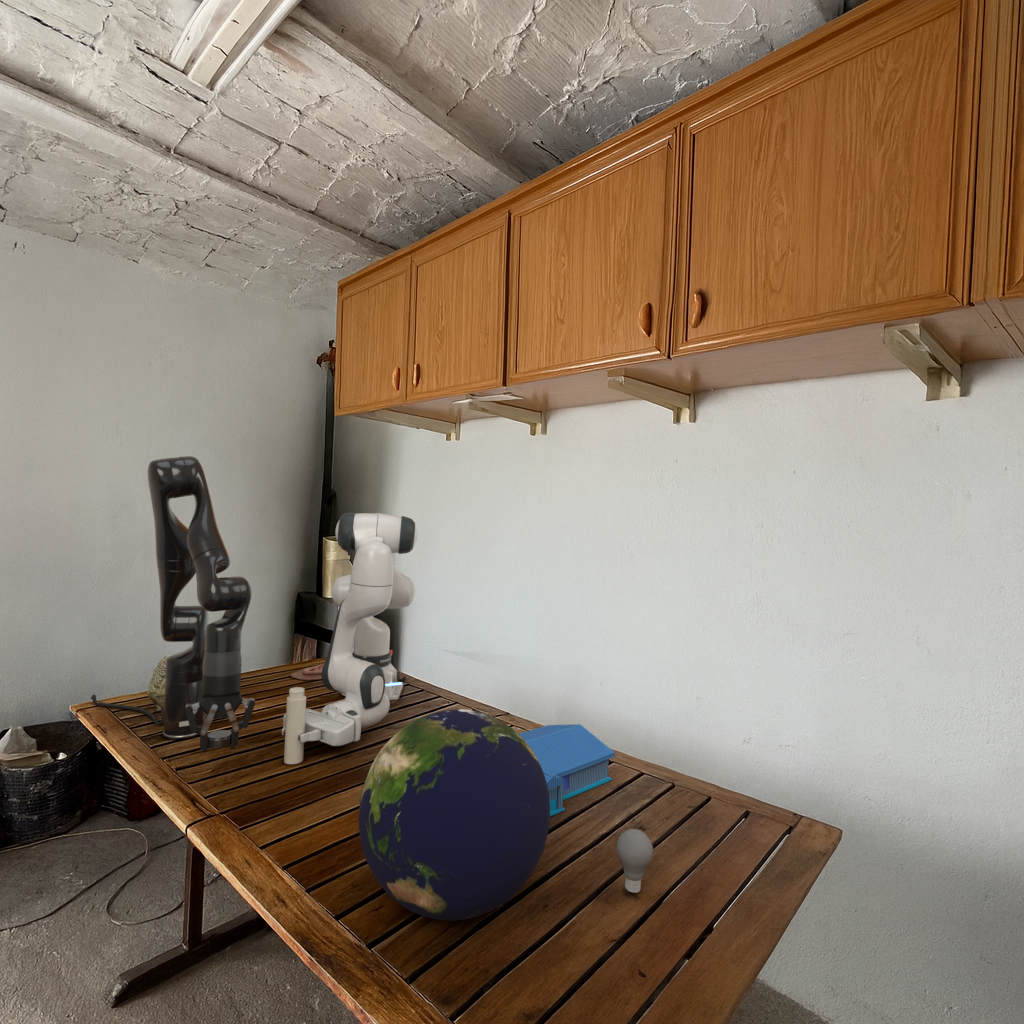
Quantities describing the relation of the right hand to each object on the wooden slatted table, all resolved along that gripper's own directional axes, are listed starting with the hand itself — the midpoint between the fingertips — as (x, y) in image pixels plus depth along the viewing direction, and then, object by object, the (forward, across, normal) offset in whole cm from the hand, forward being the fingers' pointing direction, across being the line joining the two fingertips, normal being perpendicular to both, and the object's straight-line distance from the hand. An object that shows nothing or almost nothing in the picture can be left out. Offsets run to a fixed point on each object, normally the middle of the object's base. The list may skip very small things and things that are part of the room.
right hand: (291, 735), depth 150 cm
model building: (-22, +52, +6) cm, 57 cm away
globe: (+18, +63, +6) cm, 66 cm away
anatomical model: (-50, -53, +6) cm, 73 cm away
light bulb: (-2, +85, +6) cm, 86 cm away
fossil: (-6, -55, +6) cm, 56 cm away
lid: (+18, -1, -5) cm, 19 cm away
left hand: (+18, -1, -2) cm, 18 cm away
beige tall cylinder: (-1, 0, +6) cm, 6 cm away
